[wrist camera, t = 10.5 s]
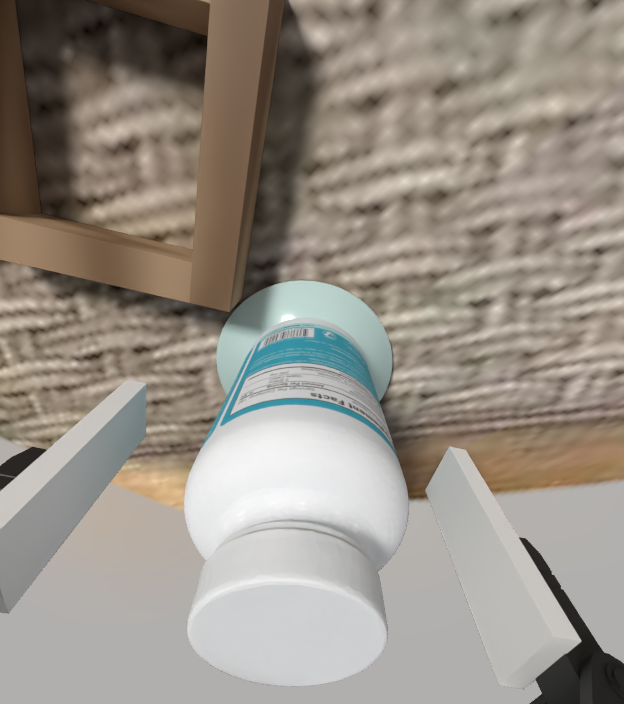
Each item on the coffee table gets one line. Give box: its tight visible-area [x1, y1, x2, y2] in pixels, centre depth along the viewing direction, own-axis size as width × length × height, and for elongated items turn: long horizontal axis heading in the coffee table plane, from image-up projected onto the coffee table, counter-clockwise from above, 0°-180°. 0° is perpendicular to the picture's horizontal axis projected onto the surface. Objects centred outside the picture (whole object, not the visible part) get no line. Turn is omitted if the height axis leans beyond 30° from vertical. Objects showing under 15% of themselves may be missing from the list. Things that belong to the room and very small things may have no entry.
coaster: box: [216, 280, 392, 402], centre depth 20 cm, size 11×11×1 cm
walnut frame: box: [0, 0, 285, 312], centre depth 13 cm, size 13×13×3 cm
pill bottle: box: [184, 318, 409, 687], centre depth 13 cm, size 8×7×14 cm
